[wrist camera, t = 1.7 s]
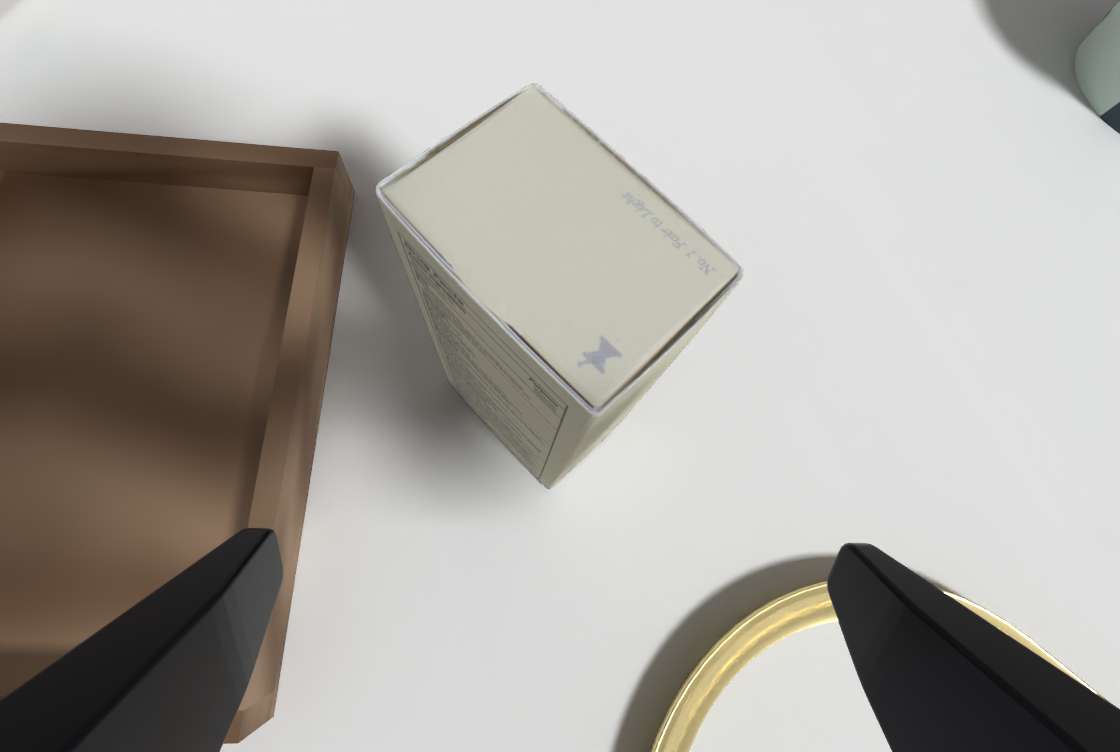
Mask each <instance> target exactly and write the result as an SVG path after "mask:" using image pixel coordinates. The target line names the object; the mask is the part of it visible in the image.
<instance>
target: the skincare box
mask: <svg viewBox="0 0 1120 752" xmlns="http://www.w3.org/2000/svg"><path fill="white" fill-rule="evenodd" d="M375 194H376V197H377V200H378V202H379V205H380V207H381V210H382V212H383V215H384V217H385V220H386V223H387V225H388V227H389V230H390V233H391V236H392V238H393V241H394V243H395V246H396V248H397V251H398V253H399V256H400V258H401V261H402V263H403V266H404V268H405V271H406V273H407V276H408V278H409V281H410V283H411V286H412V289H413V291H414V294H415V296H416V299H417V302H418V304H419V307H420V310H421V312H422V315H423V317H424V320H425V322H426V325H427V327H428V330H429V333H430V335H431V338H432V340H433V343H434V345H435V348H436V350H437V353H438V355H439V358H440V360H441V363H442V366H443V368H444V371H445V373H446V376H447V379H448V381H449V382H450V384H451V385H452V386H453V387H454V388H455V389H456V390H457V392H458V393H459V394H460V395H461V396H462V397H463V399H464V400H465V401H466V402H467V403H468V404H469V405H470V407H471V408H472V409H473V410H474V411H475V412H476V413H477V415H478V416H479V417H480V418H481V419H482V420H483V421H484V422H485V423H486V425H487V426H488V427H489V428H490V429H491V430H492V431H493V432H494V433H495V434H496V436H497V437H498V438H499V439H500V440H501V441H502V442H503V443H504V444H505V445H506V447H507V448H508V449H509V450H510V451H511V452H512V453H513V454H514V455H515V456H516V457H517V458H518V459H519V460H520V462H521V463H522V464H523V465H524V466H525V467H526V468H527V469H528V470H529V471H530V472H531V473H532V474H533V475H534V476H535V477H536V478H537V479H538V480H539V481H540V482H541V483H542V484H543V485H544V487H546V488H547V489H551V488H552V487H554V486H555V485H556V484H557V483H558V482H559V481H560V480H561V479H562V478H564V477H565V476H566V475H567V474H568V473H569V472H570V471H571V470H572V469H573V468H574V467H576V466H577V465H578V464H579V463H580V462H581V461H582V460H583V459H584V458H585V457H586V456H587V455H588V454H589V453H590V452H591V451H592V450H593V449H594V448H595V447H597V446H598V445H599V444H600V443H601V442H602V441H603V440H604V439H605V438H606V437H607V436H608V435H609V434H610V433H611V432H612V431H613V429H614V428H615V427H616V426H617V425H618V424H619V423H620V422H621V421H622V420H623V419H624V418H625V417H626V415H627V414H628V413H629V412H630V411H631V410H632V409H633V407H634V406H635V405H636V404H637V403H638V402H639V400H640V399H641V398H642V397H643V396H644V395H645V394H646V392H647V391H648V390H649V389H650V388H651V387H652V386H653V384H654V383H655V382H656V381H657V380H658V378H659V377H660V376H661V375H662V374H663V373H664V372H665V370H666V369H667V368H668V367H669V366H670V365H671V363H672V362H673V361H674V360H675V359H676V358H677V357H678V355H679V354H680V353H681V352H682V350H683V349H684V348H685V347H686V346H687V345H688V343H689V342H690V341H691V340H692V339H693V338H694V336H695V335H696V334H697V333H698V331H699V330H700V329H701V328H702V327H703V325H704V324H705V323H706V322H707V321H708V320H709V318H710V317H711V316H712V315H713V314H714V312H715V311H716V310H717V309H718V307H719V306H720V305H721V304H722V303H723V301H724V300H725V299H726V298H727V297H728V295H729V294H730V293H731V292H732V291H733V289H734V288H735V287H736V286H737V285H738V283H739V282H740V280H741V278H742V277H743V269H742V267H741V266H740V265H739V264H738V263H737V262H736V261H735V260H734V259H733V258H732V257H731V256H730V255H729V254H727V253H726V252H725V250H724V249H723V248H722V247H721V246H720V245H718V244H717V243H716V242H715V241H714V240H713V239H712V238H711V237H710V236H709V235H708V234H707V233H706V232H705V231H704V230H703V229H702V228H701V227H699V225H698V224H696V223H695V222H694V221H693V220H692V219H691V218H690V217H688V216H687V215H686V214H685V213H684V212H683V211H682V210H681V209H680V208H679V207H678V206H677V205H675V204H674V203H673V202H672V201H671V200H670V199H668V197H667V196H666V195H665V194H663V193H662V192H661V191H660V190H659V189H658V188H657V187H656V186H654V185H653V184H652V183H651V182H650V181H649V180H648V179H647V178H646V177H645V176H643V175H642V174H641V173H639V172H638V171H637V170H636V169H635V168H634V167H633V166H632V165H630V164H629V163H628V162H627V161H626V160H625V158H624V157H623V156H621V155H619V154H618V153H617V152H616V151H615V150H614V149H612V147H610V146H609V145H608V144H607V143H606V142H605V141H604V140H603V139H601V138H600V137H599V136H598V135H597V134H596V133H595V132H594V131H593V130H591V129H590V128H589V127H588V126H586V125H585V124H584V123H583V122H582V121H580V120H579V119H578V118H577V117H576V116H575V115H574V114H573V113H572V112H570V111H569V110H568V109H567V108H566V107H565V106H564V105H562V104H561V103H560V102H559V101H558V100H557V99H555V98H554V97H553V96H552V95H551V94H550V93H548V92H547V91H546V90H545V89H544V88H543V87H541V86H540V85H538V84H533V83H532V84H530V85H528V86H526V87H524V88H523V89H521V90H520V91H518V92H516V93H514V94H513V95H511V96H510V97H508V98H507V99H505V100H504V101H502V102H501V103H499V104H498V105H496V106H494V107H493V108H491V109H489V110H488V111H486V112H485V113H483V114H482V115H480V116H478V117H477V118H475V119H473V120H472V121H470V122H469V123H468V124H466V125H464V126H462V127H461V128H459V129H458V130H456V131H455V132H454V133H452V134H451V135H449V136H447V137H446V138H444V139H442V140H441V141H439V142H438V143H436V144H435V145H433V146H432V147H430V148H429V149H427V150H426V151H424V152H423V153H421V154H420V155H418V156H417V157H415V158H414V159H413V160H411V161H410V162H408V163H406V164H405V165H403V166H401V167H400V168H398V169H397V170H395V171H394V172H392V173H391V174H390V175H388V176H387V177H385V178H384V179H382V180H381V181H380V182H378V183H377V185H376V189H375Z"/></svg>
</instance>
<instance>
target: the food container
mask: <svg viewBox="0 0 1120 752" xmlns="http://www.w3.org/2000/svg"><path fill="white" fill-rule="evenodd" d="M1075 74H1076V78H1077V81H1078V84H1079V86H1080V89H1081V91H1082V93H1083V95H1084V96H1085V98H1086V100H1087V101H1088V103H1089V104H1090V105H1091V107H1092V108H1093V109H1094V110H1095V112H1096V113H1097V114H1098V115H1099V116H1100V117H1101V118H1102V119H1103V120H1104V121H1105V122H1106V123H1107V124H1108V125H1109V126H1110V127H1112V128H1113V129H1114V130H1115V131H1117V132H1118V133H1119V134H1120V0H1119V1H1118V3H1117V4H1116V5H1115V6H1114V7H1113V8H1112V9H1111V10H1110V11H1109V13H1108V14H1107V15H1106V16H1105V17H1104V18H1103V19H1102V20H1101V22H1100V23H1099V24H1098V25H1097V26H1096V27H1095V28H1094V29H1093V30H1092V32H1091V33H1090V34H1089V35H1088V36H1087V37H1086V38H1085V39H1084V41H1083V42H1082V43H1081V44H1080V46H1079V48H1078V50H1077V52H1076V56H1075Z"/></svg>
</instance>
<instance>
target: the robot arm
mask: <svg viewBox="0 0 1120 752" xmlns="http://www.w3.org/2000/svg"><path fill="white" fill-rule="evenodd" d="M282 580H283V563H282V558H281V553H280V548H279V543H278V538H277V534H276V532H275V531H274V530H273V529H270V528H245V529H243V530H241V531H239V532H238V533H236V534H235V535H233V536H232V537H230V538H229V539H228V540H226V541H225V542H223V543H222V544H221V545H219V546H218V547H216V548H215V549H213V550H212V551H211V552H209V553H208V554H206V555H205V556H204V557H202V558H201V559H199V560H198V561H196V562H195V563H194V564H192V565H191V566H189V567H188V568H186V569H185V570H184V571H182V572H181V573H179V574H178V575H177V576H175V577H174V578H172V579H171V580H169V581H168V582H167V583H165V584H164V585H162V586H161V587H160V588H158V589H157V590H155V591H154V592H152V593H151V594H150V595H148V596H147V597H145V598H144V599H142V600H141V601H140V602H138V603H137V604H135V605H134V606H133V607H131V608H130V609H128V610H127V611H125V612H124V613H123V614H121V615H120V616H118V617H117V618H115V619H114V620H113V621H111V622H110V623H108V624H107V625H106V626H104V627H103V628H101V629H100V630H98V631H97V632H96V633H94V634H93V635H91V636H90V637H89V638H87V639H86V640H84V641H83V642H81V643H80V644H79V645H77V646H76V647H74V648H73V649H71V650H70V651H69V652H67V653H66V654H64V655H63V656H62V657H60V658H59V659H57V660H56V661H54V662H53V663H52V664H50V665H49V666H47V667H46V668H44V669H43V670H42V671H40V672H39V673H37V674H36V675H35V676H33V677H32V678H30V679H29V680H27V681H26V682H25V683H23V684H22V685H20V686H19V687H18V688H16V689H15V690H13V691H12V692H10V693H9V694H8V695H6V696H5V697H3V698H2V699H0V752H220V749H221V747H222V745H223V743H224V740H225V738H226V736H227V734H228V731H229V729H230V727H231V725H232V722H233V720H234V718H235V716H236V713H237V711H238V709H239V707H240V704H241V702H242V700H243V697H244V695H245V692H246V690H247V687H248V685H249V682H250V679H251V676H252V673H253V671H254V668H255V665H256V662H257V658H258V655H259V652H260V649H261V646H262V643H263V640H264V637H265V634H266V631H267V628H268V625H269V621H270V618H271V615H272V612H273V609H274V606H275V603H276V600H277V597H278V594H279V591H280V588H281V584H282ZM827 589H828V593H829V596H830V599H831V602H832V605H833V608H834V610H835V613H836V616H837V619H838V622H839V624H840V627H841V630H842V633H843V635H844V638H845V641H846V644H847V647H848V649H849V652H850V655H851V658H852V661H853V663H854V666H855V669H856V672H857V674H858V677H859V679H860V682H861V684H862V687H863V689H864V691H865V694H866V696H867V698H868V701H869V703H870V705H871V707H872V709H873V711H874V713H875V716H876V718H877V720H878V722H879V724H880V726H881V729H882V731H883V733H884V735H885V737H886V739H887V741H888V744H889V746H890V748H891V750H892V752H1120V709H1119V708H1117V707H1116V706H1114V705H1113V704H1111V703H1110V702H1108V701H1107V700H1105V699H1104V698H1102V697H1101V696H1099V695H1098V694H1096V693H1095V692H1093V691H1092V690H1090V689H1089V688H1087V687H1086V686H1084V685H1083V684H1081V683H1080V682H1078V681H1077V680H1075V679H1074V678H1072V677H1071V676H1069V675H1068V674H1066V673H1065V672H1063V671H1062V670H1060V669H1059V668H1057V667H1056V666H1054V665H1053V664H1051V663H1050V662H1048V661H1047V660H1045V659H1044V658H1042V657H1041V656H1039V655H1038V654H1036V653H1035V652H1033V651H1032V650H1030V649H1029V648H1027V647H1026V646H1024V645H1023V644H1021V643H1020V642H1018V641H1017V640H1015V639H1014V638H1012V637H1011V636H1009V635H1008V634H1006V633H1004V632H1003V631H1001V630H1000V629H998V628H997V627H995V626H994V625H992V624H991V623H989V622H988V621H986V620H985V619H983V618H982V617H980V616H979V615H977V614H976V613H974V612H973V611H971V610H970V609H968V608H967V607H965V606H964V605H962V604H961V603H959V602H958V601H956V600H955V599H953V598H952V597H950V596H949V595H947V594H946V593H944V592H943V591H941V590H940V589H938V588H937V587H935V586H934V585H932V584H931V583H929V582H928V581H926V580H925V579H923V578H922V577H920V576H919V575H917V574H916V573H914V572H913V571H911V570H910V569H908V568H907V567H905V566H904V565H902V564H901V563H899V562H898V561H896V560H895V559H893V558H892V557H890V556H889V555H887V554H886V553H884V552H883V551H881V550H880V549H878V548H877V547H875V546H873V545H871V544H867V543H846V544H844V545H843V546H842V547H841V549H840V551H839V553H838V555H837V557H836V560H835V562H834V564H833V566H832V569H831V571H830V573H829V575H828V579H827Z"/></svg>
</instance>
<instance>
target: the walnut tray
mask: <svg viewBox="0 0 1120 752" xmlns="http://www.w3.org/2000/svg"><path fill="white" fill-rule="evenodd" d="M353 198H354V189H353V186H352V184H351V182H350V179H349V177H348V174H347V172H346V169H345V167H344V164H343V162H342V159H341V157H340V154H339V152H337V151H326V150H314V149H302V148H290V147H279V146H267V145H255V144H243V143H232V142H220V141H208V140H197V139H185V138H173V137H161V136H150V135H138V134H126V133H114V132H103V131H91V130H79V129H67V128H56V127H44V126H32V125H20V124H9V123H0V699H2V698H3V697H5V696H6V695H8V694H9V693H10V692H12V691H13V690H15V689H16V688H18V687H19V686H20V685H22V684H23V683H25V682H26V681H27V680H29V679H30V678H32V677H33V676H35V675H36V674H37V673H39V672H40V671H42V670H43V669H44V668H46V667H47V666H49V665H50V664H52V663H53V662H54V661H56V660H57V659H59V658H60V657H62V656H63V655H64V654H66V653H67V652H69V651H70V650H71V649H73V648H74V647H76V646H77V645H79V644H80V643H81V642H83V641H84V640H86V639H87V638H89V637H90V636H91V635H93V634H94V633H96V632H97V631H98V630H100V629H101V628H103V627H104V626H106V625H107V624H108V623H110V622H111V621H113V620H114V619H115V618H117V617H118V616H120V615H121V614H123V613H124V612H125V611H127V610H128V609H130V608H131V607H133V606H134V605H135V604H137V603H138V602H140V601H141V600H142V599H144V598H145V597H147V596H148V595H150V594H151V593H152V592H154V591H155V590H157V589H158V588H160V587H161V586H162V585H164V584H165V583H167V582H168V581H169V580H171V579H172V578H174V577H175V576H177V575H178V574H179V573H181V572H182V571H184V570H185V569H186V568H188V567H189V566H191V565H192V564H194V563H195V562H196V561H198V560H199V559H201V558H202V557H204V556H205V555H206V554H208V553H209V552H211V551H212V550H213V549H215V548H216V547H218V546H219V545H221V544H222V543H223V542H225V541H226V540H228V539H229V538H230V537H232V536H233V535H235V534H236V533H238V532H239V531H241V530H243V529H245V528H270V529H273V530H274V531H275V532H276V534H277V538H278V543H279V548H280V553H281V558H282V563H283V580H282V584H281V588H280V591H279V594H278V597H277V600H276V603H275V606H274V609H273V612H272V615H271V618H270V621H269V625H268V628H267V631H266V634H265V637H264V640H263V643H262V646H261V649H260V652H259V655H258V658H257V662H256V665H255V668H254V671H253V673H252V676H251V679H250V682H249V685H248V687H247V690H246V692H245V695H244V697H243V700H242V702H241V704H240V707H239V709H238V711H237V713H236V716H235V718H234V720H233V722H232V725H231V727H230V729H229V731H228V734H227V736H226V738H225V740H224V743H223V744H226V743H239V742H240V741H242V740H243V739H244V738H246V737H247V736H248V735H250V734H251V733H252V732H254V731H255V730H256V729H258V728H259V727H260V726H262V725H263V724H264V723H266V722H267V721H268V720H270V719H271V718H272V717H273V716H274V710H275V703H276V697H277V690H278V684H279V678H280V671H281V665H282V658H283V652H284V645H285V639H286V632H287V626H288V619H289V613H290V606H291V600H292V593H293V587H294V580H295V574H296V567H297V561H298V554H299V548H300V541H301V535H302V528H303V522H304V515H305V509H306V502H307V496H308V490H309V483H310V477H311V470H312V464H313V457H314V451H315V444H316V438H317V431H318V425H319V418H320V412H321V405H322V399H323V392H324V386H325V379H326V373H327V366H328V360H329V353H330V347H331V340H332V334H333V327H334V321H335V315H336V308H337V302H338V295H339V289H340V282H341V276H342V269H343V263H344V256H345V250H346V243H347V237H348V230H349V224H350V217H351V211H352V204H353Z"/></svg>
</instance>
